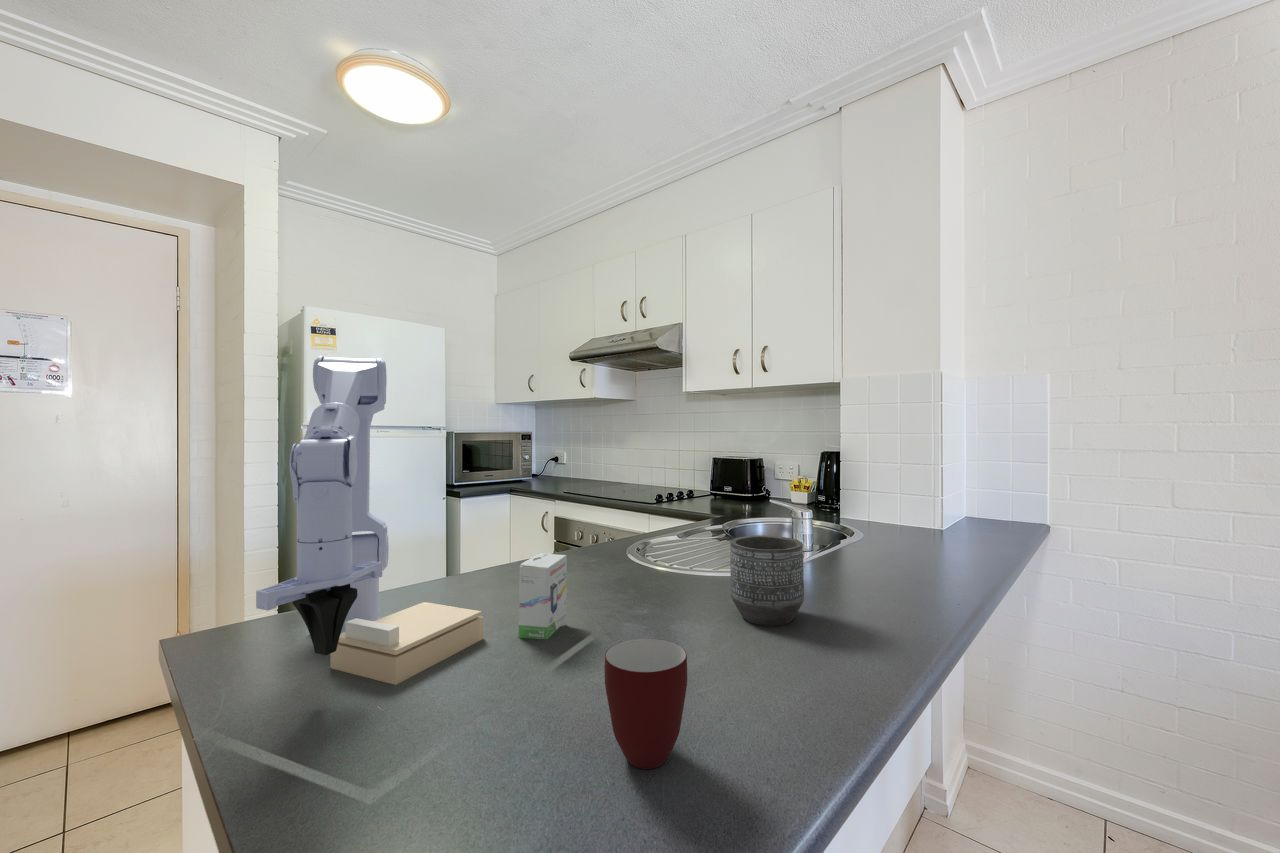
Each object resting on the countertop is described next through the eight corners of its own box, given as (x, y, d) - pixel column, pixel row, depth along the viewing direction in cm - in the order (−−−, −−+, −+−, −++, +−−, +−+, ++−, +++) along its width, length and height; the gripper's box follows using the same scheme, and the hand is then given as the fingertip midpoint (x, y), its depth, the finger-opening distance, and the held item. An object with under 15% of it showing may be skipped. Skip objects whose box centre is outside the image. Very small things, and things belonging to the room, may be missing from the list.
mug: (592, 728, 57) (591, 635, 57) (663, 716, 59) (662, 626, 60) (617, 792, 47) (616, 678, 47) (701, 773, 49) (700, 665, 49)
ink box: (538, 623, 89) (538, 552, 89) (568, 624, 88) (567, 553, 88) (516, 643, 81) (516, 564, 81) (549, 645, 80) (548, 566, 80)
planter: (812, 612, 93) (811, 539, 93) (792, 636, 82) (790, 553, 82) (746, 601, 99) (745, 532, 99) (719, 621, 89) (718, 544, 89)
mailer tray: (330, 673, 71) (330, 643, 71) (424, 632, 85) (424, 607, 85) (395, 691, 66) (395, 658, 66) (483, 643, 80) (483, 617, 80)
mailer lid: (332, 640, 71) (332, 621, 71) (424, 605, 85) (424, 589, 85) (395, 655, 66) (395, 634, 66) (481, 615, 80) (481, 598, 80)
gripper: (284, 554, 56) (285, 684, 56) (399, 530, 69) (399, 635, 69) (244, 548, 59) (244, 672, 59) (361, 526, 72) (361, 627, 72)
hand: (325, 651), depth 64 cm, fingers closed
